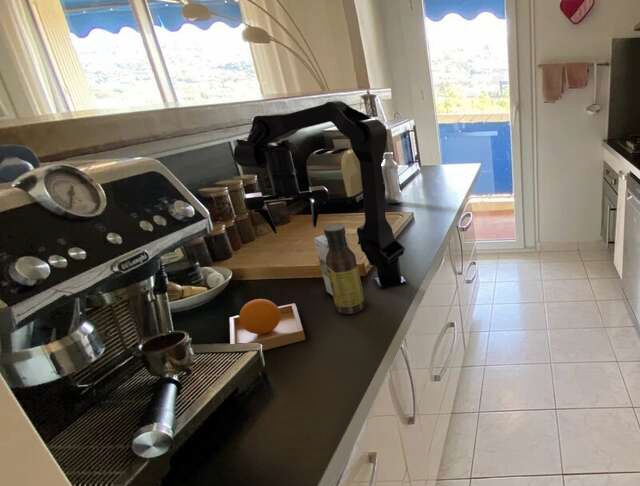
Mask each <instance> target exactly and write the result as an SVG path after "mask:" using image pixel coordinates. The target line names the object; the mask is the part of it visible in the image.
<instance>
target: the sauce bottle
mask: <svg viewBox="0 0 640 486" xmlns="http://www.w3.org/2000/svg"><path fill="white" fill-rule="evenodd" d="M323 233H324V235H326V237H327V241H328V247H329V251H328V253H327V255H326V266H327V271H328V275H329V279H330V284H331V288H332V292H333V296H332V297H333V301H334V304H335V307H336V310H337V312H338V313H340V314H343V315H353V314H358V313H360V312H361V311H363V309H365V297H364V296H365V295H364V291H363V286H362V281H361V277H360V270H359V266H358V263H357V258H356V254H355V253H354V251H353V250H352V249H351V248H350V247H349V248H348V246H347V242H346V238H347V237H346V228H345V226H344V225H343V224H331V225H327V226H324V228H323Z"/></svg>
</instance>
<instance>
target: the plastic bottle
mask: <svg viewBox="0 0 640 486" xmlns="http://www.w3.org/2000/svg"><path fill="white" fill-rule="evenodd" d="M382 159H383V160H382V175H383V183H384V188H385V189H384V199H385V201H386V202H387V203H388V204H399V203H401V202H402V200H403V195H402V191H401V187H400V183H399V166H398V163H397V162H396V161H395V159H394V153H393V152H388V151H387V152H384V155H383V157H382Z"/></svg>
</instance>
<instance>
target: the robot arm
mask: <svg viewBox="0 0 640 486" xmlns="http://www.w3.org/2000/svg"><path fill="white" fill-rule="evenodd" d="M251 122H252V123H251V124H252V125H251V128H250V131H249V134H248V137H242V138H236V145H235V146H234V150H233V154H232V156H233V160H234V161H235V162H236V164H237V165H238V166H240V167H243V168H255V169H266V168H267V172H268V175H265V176H262V181H263V185H264V189H265V190H266V191H269V190H272V194H269V195H263V193H262V192H252V193H251V192H250V193H245V194H244V195H243V201H244V204H245V209H246V210H247V211H253V213H254V214H260V216H261V217H262V218H263V219H264V220H265V221H266V223H267V224H268V225H269V227H270V229H271V230H272V231H273V232H274V234H277V229H276V225H275V223H274V220H273V218H272V215H271V213H270V211H269V209H268V207H267V204H274V203H282V202H290V201H291V202H292V201H301V200H309V203H310V208H311V209H310V210H311V221H312V226H313V228H314V229H315V228H317V224H318V218H319V215H320V211H321V208H322V206H323V205H326V201H330V200H331V197H330V192H329V190H328V189H327V188H326V187H325V186H324V185H316V186H309V187H308V190H305V191H304V190H303V191H300V188H299V184H298V178H297V175H296V170H295V165H294V161H293V157H292V151H297V150H298V149H299V147H298V145H296V144H294V143H293V142H291V141H290V140H289V139H287V138H289V137H291V136H293V135H295V134H296V133H297V132H299V131H300V130H303V129H306V128H310V127H315V126H319V125H323V124H327V123H332V124H333V125H334V126H335V128H336V129H337V130H338V132H339V133H340V134H342V135H343V136H344V137H346V138H347V139H348V140H349V143H350V147H351V150H352V152H353V154H354V155H355V156H356V158H357V160H358V162H359V170H360V171H359V172H360V180H361V191H362V202H363V212H364V222H363V223H364V224H362V225H361V226H359V227H357V228H356V233H357V238H358V240H357V245H359V247H360V250H361V252H362V253H364V255H365V257H366V259H367V262H368V263H369V266H374V267H376V273H377V277H374V281H375V282H376V283H377V285H378V286H379V288H380V289H386V288H390V287H395V286H399V285H403V284H406V283H407V280H406V279H405V278H404V276H402V271H401V264H400V263H401V262H400V257H401V256H403V255H404V253H405V247H404V245H402V244H401V242H399V241H398V240H397V239H396V238H395V236H394V231H393V228H392V226H391V224H390V223H389V222H388V220H387V216H386V215H387V214H386V204H385V201H386V200H385V189H384V188H385V187H384V177H383V173H382V162H383V155H384V153H386V149H387V140H388V130H387V127H386V126H385V125H384V124H383V122H382V121H380V120H379V119H377V118H372V117H371V116H369V115H368V114H366V113H364V112H361V111H360V110H357V109H355V108H353V107H351V106H350V105H349V104H347V103H346V102H344V101H342V100H333V101H326V102H324V103H323V104H319V105H316V106H312V107H308V108H305V109H301V110H296V111H293V112H288V113H287V112H285V113H282V112H281V113H270V114H261V115H256V116H254V117H253V118H252V121H251ZM284 139H285V140H284ZM280 140H281V142H279V141H280Z"/></svg>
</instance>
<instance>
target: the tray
mask: <svg viewBox="0 0 640 486" xmlns="http://www.w3.org/2000/svg"><path fill="white" fill-rule="evenodd" d="M277 307H278V308H279V310H280V314H281V318H280V322H279V324H278V325H277V327H276V328H275V329H274V330H272V331H271V332H268V333H266V334H253V333H250V332H248V331H247V330H245V329H244V328H243V327H242V325H241V323H240V320H239V315H235V316H230V317H229V344H235V343H261V344H262V345H263V351H267V350H271V349H274V348H279V347H284V346H287V345H291V344H294V343H298V342H301V341H305V340H306V335H305V332H304V328H303V323H301V322H302V321H301V318H300V315H299V311H298V308H297V305H296V303H294V302H293V303H289V304H284V305H280V306H277Z"/></svg>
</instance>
